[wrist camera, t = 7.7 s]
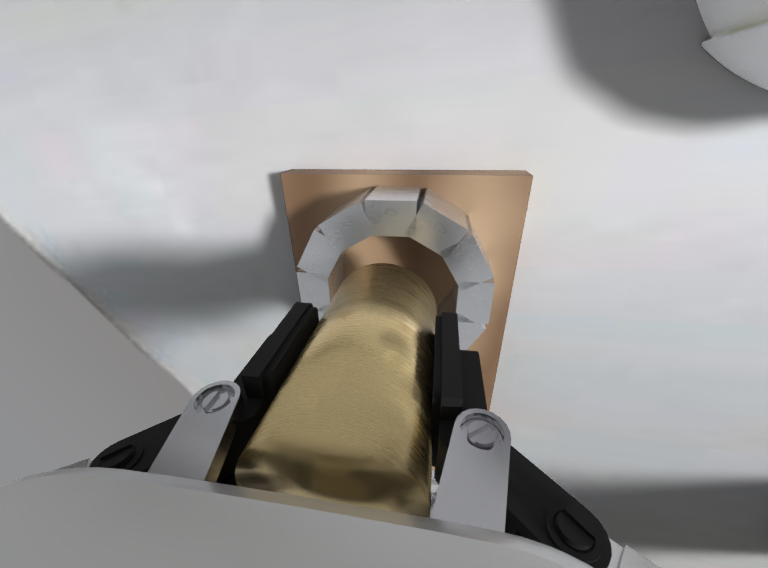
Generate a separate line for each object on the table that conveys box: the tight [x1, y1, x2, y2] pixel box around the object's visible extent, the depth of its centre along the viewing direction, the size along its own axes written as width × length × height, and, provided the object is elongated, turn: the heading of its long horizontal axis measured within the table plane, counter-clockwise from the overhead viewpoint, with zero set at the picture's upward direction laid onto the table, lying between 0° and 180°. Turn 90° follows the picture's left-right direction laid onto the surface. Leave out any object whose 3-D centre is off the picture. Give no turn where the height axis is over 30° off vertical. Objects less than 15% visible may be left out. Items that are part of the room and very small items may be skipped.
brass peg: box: [235, 263, 437, 518], centre depth 11 cm, size 4×4×8 cm
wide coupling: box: [296, 185, 495, 350], centre depth 16 cm, size 9×9×3 cm
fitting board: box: [281, 169, 533, 470], centre depth 20 cm, size 12×22×5 cm, turn 1°
